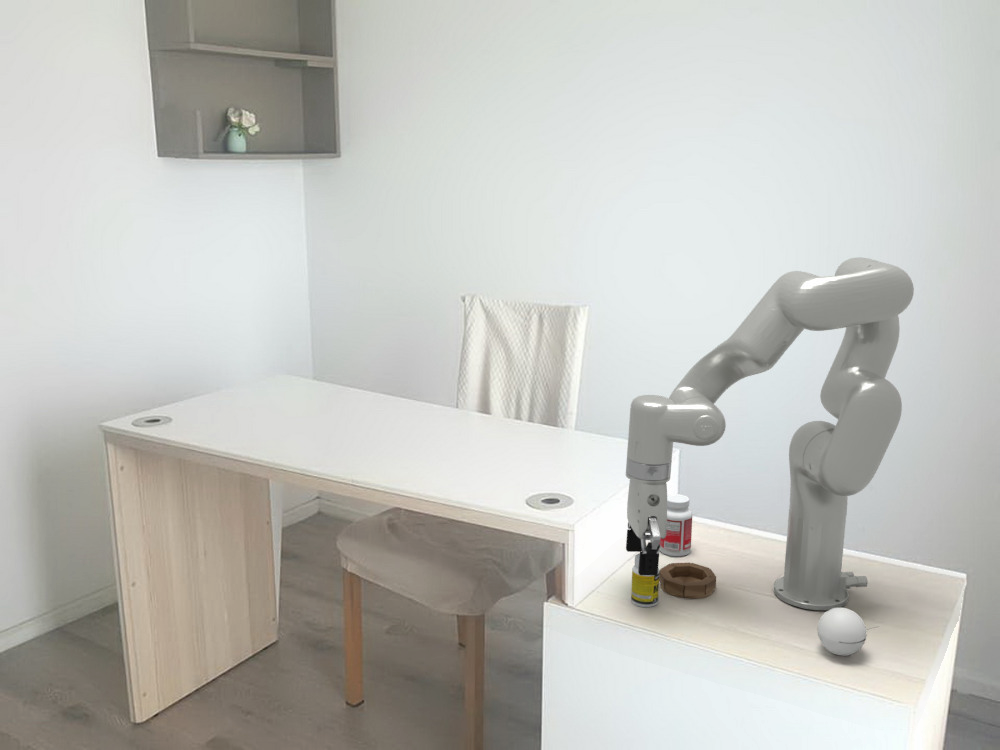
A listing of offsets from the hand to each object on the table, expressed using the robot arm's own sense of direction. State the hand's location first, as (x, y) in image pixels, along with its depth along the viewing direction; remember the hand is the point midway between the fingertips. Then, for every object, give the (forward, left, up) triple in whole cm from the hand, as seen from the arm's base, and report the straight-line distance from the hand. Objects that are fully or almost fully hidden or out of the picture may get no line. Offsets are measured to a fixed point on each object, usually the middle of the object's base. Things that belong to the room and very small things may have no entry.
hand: (641, 562), depth 170 cm
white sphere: (-29, +20, -8) cm, 36 cm away
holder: (-10, -5, -7) cm, 13 cm away
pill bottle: (-12, -21, -8) cm, 25 cm away
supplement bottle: (-1, 0, -8) cm, 8 cm away
